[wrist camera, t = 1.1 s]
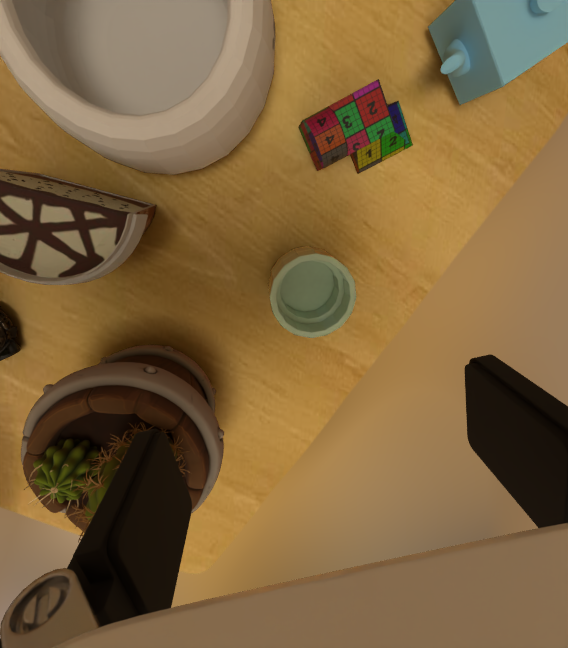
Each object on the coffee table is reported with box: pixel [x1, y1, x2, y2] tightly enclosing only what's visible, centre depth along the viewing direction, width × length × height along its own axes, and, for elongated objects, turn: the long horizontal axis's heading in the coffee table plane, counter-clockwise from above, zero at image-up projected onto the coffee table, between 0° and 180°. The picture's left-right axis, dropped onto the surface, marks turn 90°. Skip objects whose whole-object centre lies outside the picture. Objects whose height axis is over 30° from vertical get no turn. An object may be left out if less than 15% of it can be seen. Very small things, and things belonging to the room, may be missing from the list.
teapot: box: [428, 0, 568, 105], centre depth 25 cm, size 12×6×8 cm, turn 123°
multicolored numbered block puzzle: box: [299, 79, 413, 173], centre depth 28 cm, size 8×5×4 cm
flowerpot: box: [21, 345, 224, 540], centre depth 27 cm, size 14×15×20 cm
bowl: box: [268, 246, 356, 338], centre depth 32 cm, size 7×7×5 cm
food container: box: [0, 169, 156, 285], centre depth 26 cm, size 12×6×10 cm, turn 75°
